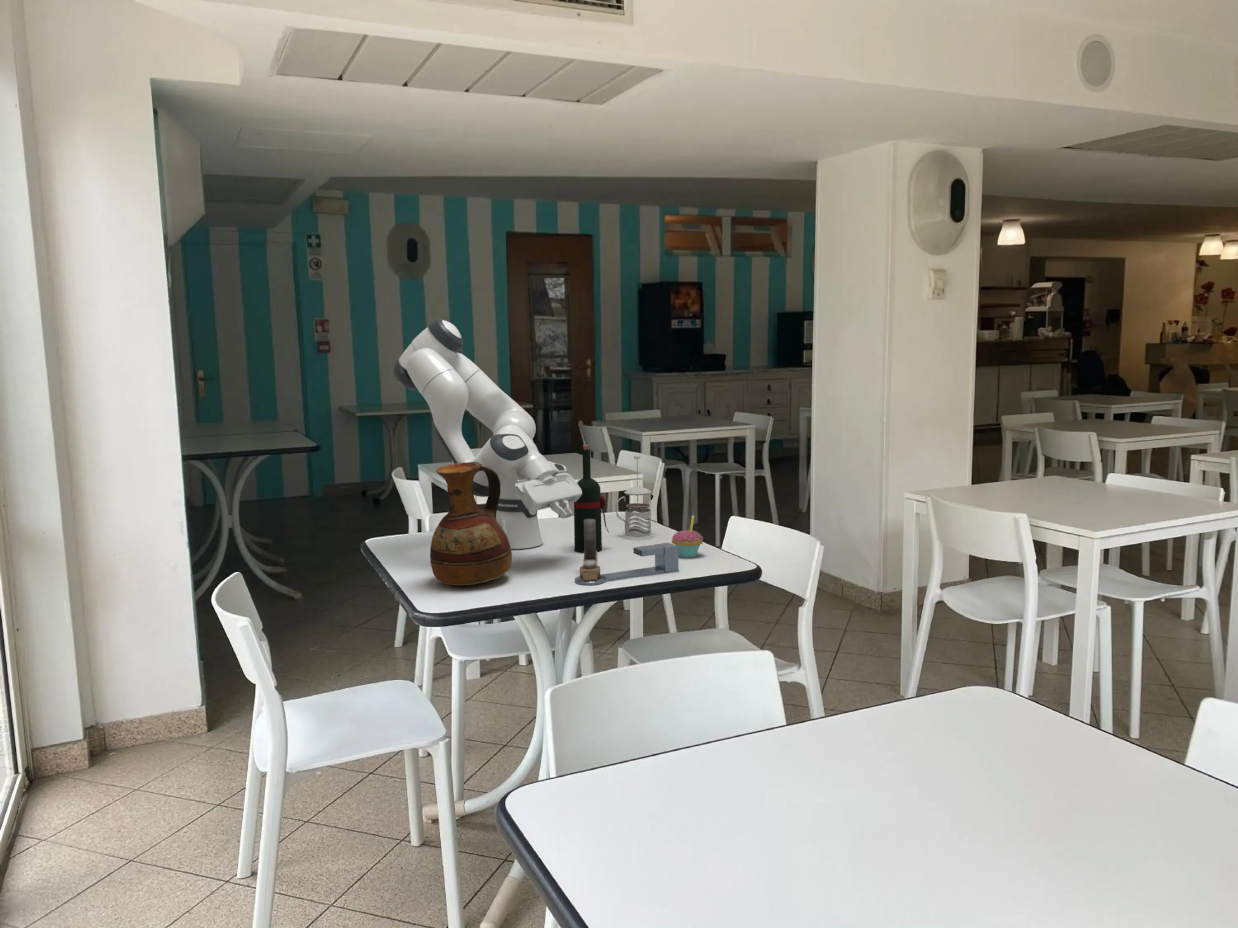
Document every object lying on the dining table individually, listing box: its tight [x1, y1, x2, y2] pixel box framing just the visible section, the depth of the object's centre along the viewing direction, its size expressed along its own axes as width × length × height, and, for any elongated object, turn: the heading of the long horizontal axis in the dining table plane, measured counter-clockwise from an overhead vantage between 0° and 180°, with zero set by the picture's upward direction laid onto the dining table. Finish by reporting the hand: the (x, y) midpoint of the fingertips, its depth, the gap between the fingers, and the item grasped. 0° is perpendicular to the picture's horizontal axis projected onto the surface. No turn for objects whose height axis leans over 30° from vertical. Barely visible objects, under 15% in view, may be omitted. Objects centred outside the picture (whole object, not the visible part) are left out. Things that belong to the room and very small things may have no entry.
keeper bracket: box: [574, 542, 679, 586], centre depth 234 cm, size 28×8×6 cm, turn 118°
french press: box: [615, 454, 655, 541], centre depth 279 cm, size 10×12×25 cm
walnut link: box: [579, 519, 601, 581], centre depth 236 cm, size 21×5×12 cm, turn 1°
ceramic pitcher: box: [429, 462, 513, 586], centre depth 230 cm, size 20×20×30 cm
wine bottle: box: [573, 444, 610, 554], centre depth 262 cm, size 8×10×30 cm
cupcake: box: [671, 513, 704, 559], centre depth 254 cm, size 9×8×12 cm
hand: (567, 516), depth 241 cm, fingers closed
